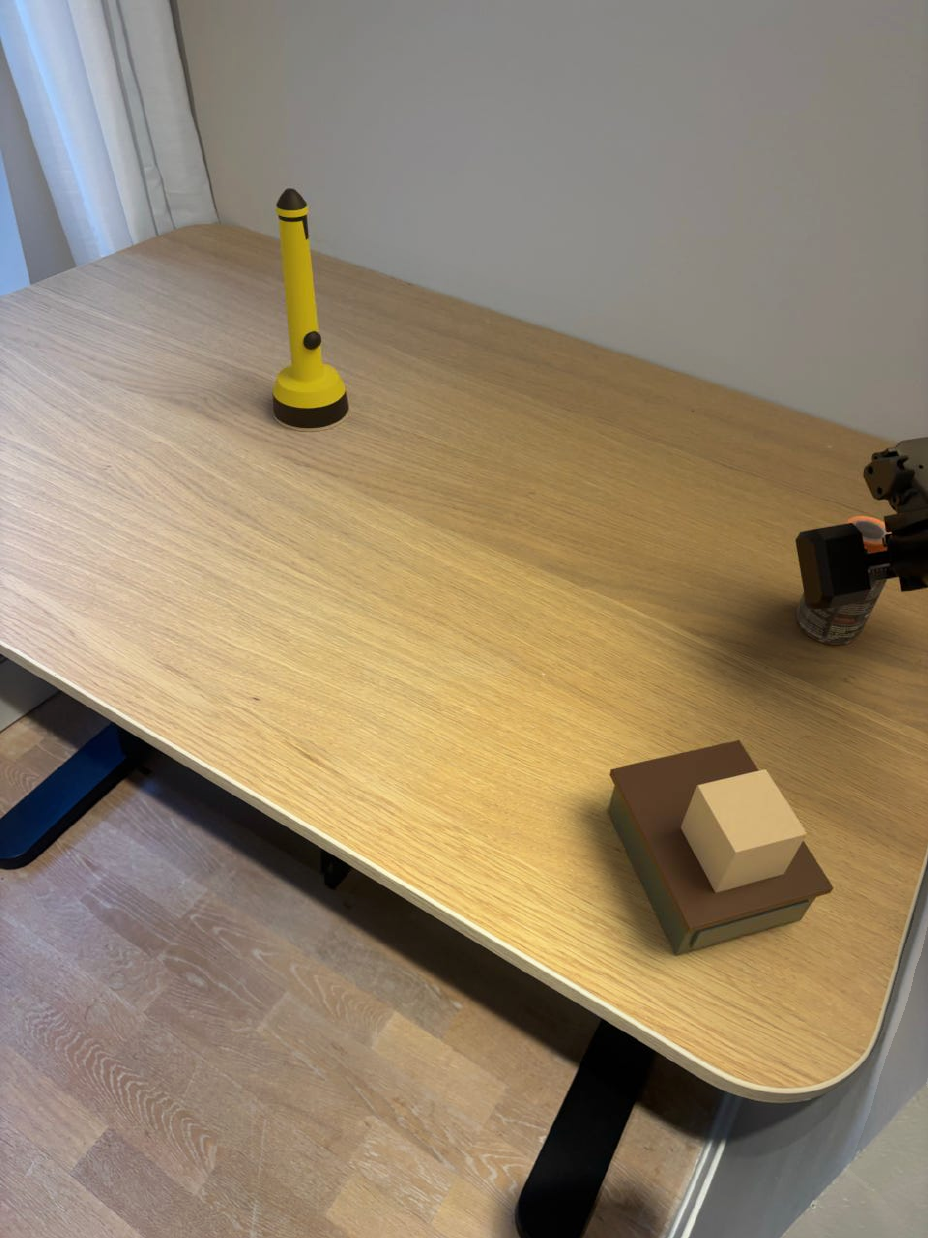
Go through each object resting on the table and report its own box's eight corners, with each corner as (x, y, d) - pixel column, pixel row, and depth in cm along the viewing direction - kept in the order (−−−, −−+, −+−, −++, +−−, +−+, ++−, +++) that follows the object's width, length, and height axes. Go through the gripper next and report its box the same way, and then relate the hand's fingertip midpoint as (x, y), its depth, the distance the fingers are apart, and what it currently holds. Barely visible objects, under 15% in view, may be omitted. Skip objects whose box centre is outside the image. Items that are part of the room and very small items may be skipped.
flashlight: (228, 183, 87) (270, 211, 82) (307, 168, 91) (352, 194, 86) (259, 405, 104) (296, 439, 99) (325, 384, 108) (363, 416, 103)
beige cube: (783, 874, 57) (807, 833, 53) (715, 893, 56) (735, 852, 52) (745, 811, 60) (765, 768, 57) (680, 827, 59) (696, 785, 56)
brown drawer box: (809, 924, 60) (834, 888, 56) (672, 963, 57) (689, 928, 54) (722, 778, 68) (739, 739, 65) (599, 807, 66) (610, 768, 62)
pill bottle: (860, 611, 82) (907, 516, 74) (859, 654, 78) (909, 558, 70) (795, 595, 84) (835, 500, 76) (791, 637, 80) (832, 541, 72)
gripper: (1071, 414, 64) (915, 457, 79) (853, 447, 60) (733, 485, 75) (1095, 564, 64) (935, 578, 80) (880, 607, 60) (755, 613, 75)
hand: (842, 561), depth 77 cm, fingers closed on pill bottle, 6 cm apart
